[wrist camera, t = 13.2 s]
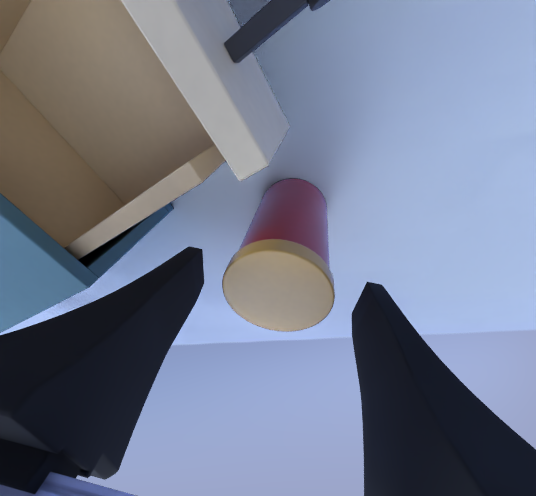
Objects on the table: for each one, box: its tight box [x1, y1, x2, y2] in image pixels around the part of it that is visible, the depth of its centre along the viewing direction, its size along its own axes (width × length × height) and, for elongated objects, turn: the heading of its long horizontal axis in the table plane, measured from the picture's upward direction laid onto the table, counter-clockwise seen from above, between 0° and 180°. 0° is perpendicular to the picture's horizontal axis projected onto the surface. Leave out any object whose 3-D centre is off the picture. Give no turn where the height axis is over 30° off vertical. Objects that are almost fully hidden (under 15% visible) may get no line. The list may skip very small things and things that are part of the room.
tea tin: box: [222, 179, 335, 331], centre depth 14 cm, size 5×5×8 cm
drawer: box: [0, 0, 330, 260], centre depth 10 cm, size 16×12×7 cm
